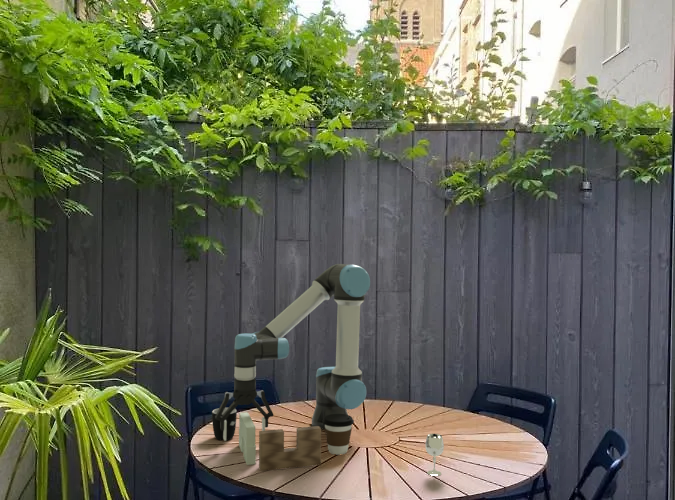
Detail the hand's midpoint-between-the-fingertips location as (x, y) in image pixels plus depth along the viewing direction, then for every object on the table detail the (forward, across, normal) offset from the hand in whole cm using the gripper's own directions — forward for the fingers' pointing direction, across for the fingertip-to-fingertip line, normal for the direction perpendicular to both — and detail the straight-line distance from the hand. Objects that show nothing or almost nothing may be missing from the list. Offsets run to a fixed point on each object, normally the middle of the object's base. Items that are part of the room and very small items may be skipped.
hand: (244, 438), depth 216 cm
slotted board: (+4, -12, +20) cm, 24 cm away
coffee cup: (+4, -31, +12) cm, 33 cm away
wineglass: (+4, -55, +38) cm, 67 cm away
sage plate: (+4, 0, +6) cm, 7 cm away
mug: (+4, +5, -16) cm, 17 cm away
